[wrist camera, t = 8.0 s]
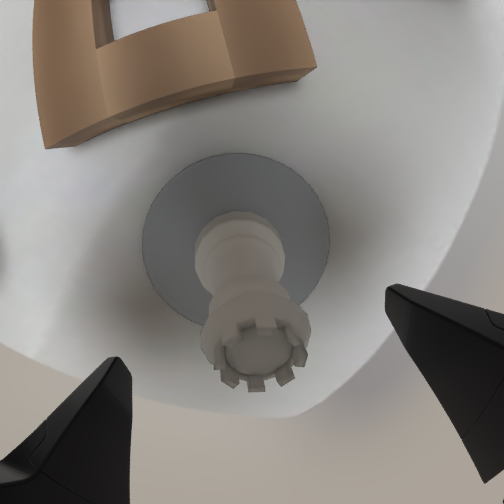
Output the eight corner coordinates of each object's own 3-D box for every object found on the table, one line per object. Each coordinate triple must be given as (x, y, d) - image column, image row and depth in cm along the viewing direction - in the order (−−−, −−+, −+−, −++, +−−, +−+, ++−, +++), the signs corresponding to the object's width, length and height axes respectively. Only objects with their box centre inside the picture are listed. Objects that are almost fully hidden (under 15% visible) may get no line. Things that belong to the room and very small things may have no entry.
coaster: (309, 135, 13) (313, 135, 12) (332, 299, 17) (336, 304, 16) (120, 185, 13) (116, 187, 12) (180, 338, 17) (180, 345, 16)
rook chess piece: (294, 263, 15) (357, 368, 8) (223, 302, 15) (233, 424, 8) (255, 191, 13) (305, 255, 6) (177, 237, 14) (140, 342, 6)
